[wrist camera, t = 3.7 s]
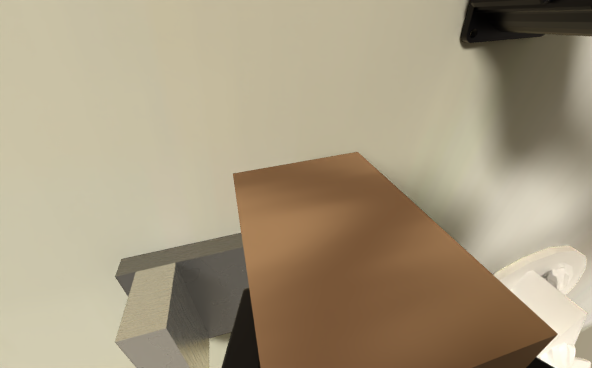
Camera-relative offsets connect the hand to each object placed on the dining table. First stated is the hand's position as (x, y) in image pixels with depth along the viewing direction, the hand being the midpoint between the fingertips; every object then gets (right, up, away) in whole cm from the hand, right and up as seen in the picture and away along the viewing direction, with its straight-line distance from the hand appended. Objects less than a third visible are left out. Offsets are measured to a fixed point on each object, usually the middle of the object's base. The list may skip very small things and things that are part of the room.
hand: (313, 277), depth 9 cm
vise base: (-2, -4, +14) cm, 15 cm away
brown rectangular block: (0, +1, +1) cm, 1 cm away
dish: (+34, -16, +33) cm, 50 cm away
